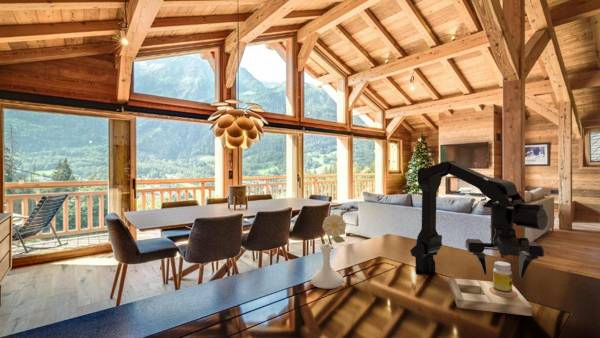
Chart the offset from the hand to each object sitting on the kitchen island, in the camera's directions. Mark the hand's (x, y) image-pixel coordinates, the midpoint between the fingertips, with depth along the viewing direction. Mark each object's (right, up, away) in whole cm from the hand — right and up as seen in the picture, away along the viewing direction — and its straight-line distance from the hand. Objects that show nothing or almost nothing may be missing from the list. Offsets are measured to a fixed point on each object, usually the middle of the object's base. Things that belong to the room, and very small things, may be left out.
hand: (502, 275), depth 90 cm
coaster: (0, -5, 0) cm, 5 cm away
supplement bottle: (0, -5, 0) cm, 5 cm away
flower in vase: (-50, -9, +15) cm, 53 cm away
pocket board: (-4, -8, +2) cm, 9 cm away
